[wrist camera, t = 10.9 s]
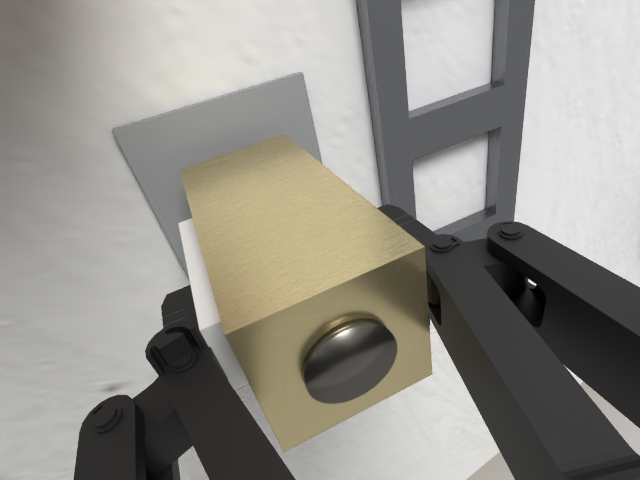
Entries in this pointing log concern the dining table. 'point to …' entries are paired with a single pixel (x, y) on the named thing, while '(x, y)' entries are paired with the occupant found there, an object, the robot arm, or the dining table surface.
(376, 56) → the grey triple frame
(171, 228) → the pad
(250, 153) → the brass block with knob
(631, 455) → the robot arm
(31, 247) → the dining table surface
